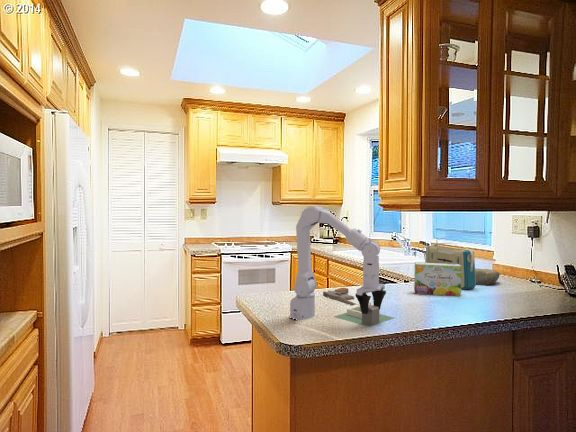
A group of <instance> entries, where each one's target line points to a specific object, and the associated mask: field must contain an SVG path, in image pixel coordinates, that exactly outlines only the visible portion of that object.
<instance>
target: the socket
mask: <svg viewBox="0 0 576 432" xmlns="http://www.w3.org/2000/svg"><path fill="white" fill-rule="evenodd" d="M346 313H347V315H350V316H354V317H358V318H361V319H362V312H361V308H360V304H358V305H356V306H353V307H349V308H346Z"/></svg>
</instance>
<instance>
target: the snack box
mask: <svg viewBox="0 0 576 432" xmlns="http://www.w3.org/2000/svg"><path fill="white" fill-rule="evenodd" d="M461 272H462V266H461V265H459V264H442V263H425V262H419V261H418V262H417V261H416V262H414V276H413V277H414V281H413V282H414V283H413V286H414V287H413V288H414V289H413V290H414V291H413V292H414V294H415V295H417V294H418V295H433V296H447V297H449V296H451V297H461V295H462V289H461Z"/></svg>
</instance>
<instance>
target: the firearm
mask: <svg viewBox="0 0 576 432" xmlns="http://www.w3.org/2000/svg"><path fill="white" fill-rule="evenodd" d="M323 295H324V297H325V296H326V297H325V298H328V297H329V299H331V300H335V301H340V302H341V303H344V304H347V305H349V304H350V305H349V306H355V305H356V306H359V303H355V302H354V301H353V302H352V300H355V296H354V295H350V294H349V288H347V287H340V288H337V289H334V290H327V291H322V296H323Z"/></svg>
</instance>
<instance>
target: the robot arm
mask: <svg viewBox="0 0 576 432" xmlns="http://www.w3.org/2000/svg"><path fill="white" fill-rule="evenodd" d="M317 224H328V225H329V226H331V227H332V228H333V229H334V230H336V231H338V232H339V233H341V234H342V235H343V236H345V240H346V242H347V243H348V244H350V245H351V246H352V247H354V249H356V250H358V251H359V252H361V254H362V256H363V262H362V275H363V276H362V286H361V287H359V288H356V293H355V296H354V297H356V298H355V299H357V302H358V305H360V308H361V312H362V313H363V314H367V313H368V305H369V303H370V300H371V297H372V302H373V305H374V306H377V307H379V311H380V310H381V307H382V302H383V299H384V298H385V296H386V294H387V291H386V290H385V287H386V285H385V283H380V262H379V261H380V257H379V254H380V253H381V252H380V251H381V247H380V244H379V243H377V241H375V240H373V238H371V237H368V236H366V235H365V234H364V233H362V230H361V229H357V228H350V227H348V225H347V224H345V223H344V222H343V221H341V220H340V219H339V218H338V217H336V215H334V214H333V213H332V212H331V211H330V210H328V209H325V208H324V207H323V206H321V205H316V206H315V205H314V206H311V205H310V206H307V207H306V208H305V209H304V210H302V211H301V215H300V217H299V219H298V222H297V223H296V226H295V231H296V233H295V234H296V248H297V249H296V252H297V273H296V277H295V282H294V285H293V287H294V288H293V290H294V293H295V294H296V296H295V297H293V298H291V300H290V301H289V302H290V303H289V304H290V305H289V311H290V312H289V317H291V318H294V319H297V320H299V321H302V320H305V319H310V318H311V319H312V318H314V317H316V316H317V315H316V313H315V311H316V310H315V309H316V306H315V301H316V298H315V290H316V288H317V286H318V284H317V281H316V279H315V274H314V271H313V270H312V251H311V249H312V248H311V229H313V227H315V226H316V225H317ZM369 293H371V295H368V294H369ZM294 319H293V320H294ZM297 320H296V321H297Z"/></svg>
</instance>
